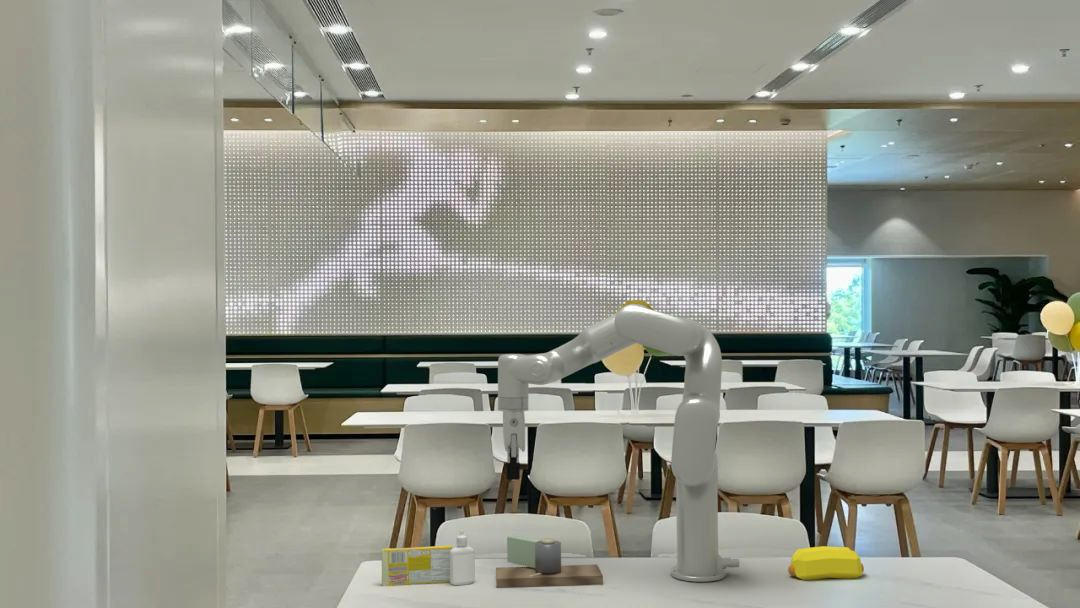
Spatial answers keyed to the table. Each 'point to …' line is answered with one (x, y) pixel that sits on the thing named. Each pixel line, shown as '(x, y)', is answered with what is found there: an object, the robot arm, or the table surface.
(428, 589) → the table surface
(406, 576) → the candy box
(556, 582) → the post base
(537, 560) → the grey and green piece
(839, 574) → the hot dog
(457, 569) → the eye dropper bottle
